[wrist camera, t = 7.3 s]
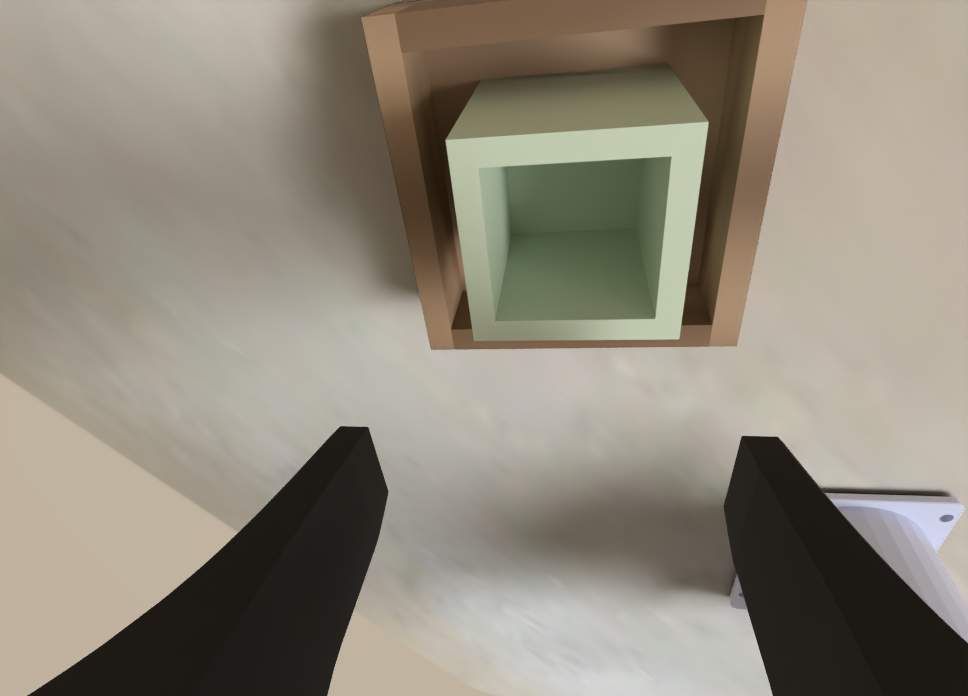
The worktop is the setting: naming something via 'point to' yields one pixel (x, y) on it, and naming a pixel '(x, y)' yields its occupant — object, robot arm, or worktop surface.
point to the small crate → (577, 203)
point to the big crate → (581, 47)
